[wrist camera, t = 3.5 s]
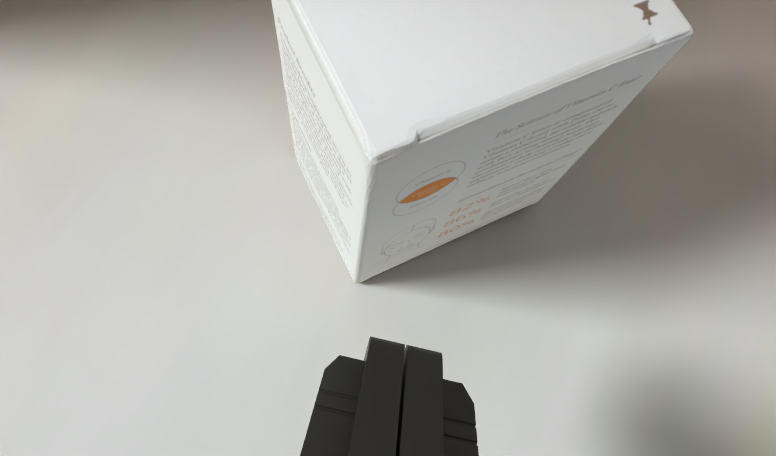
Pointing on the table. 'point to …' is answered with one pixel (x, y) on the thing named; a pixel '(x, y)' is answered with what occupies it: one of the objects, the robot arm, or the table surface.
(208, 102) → the table surface
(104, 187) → the table surface
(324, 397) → the robot arm
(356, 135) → the small box
